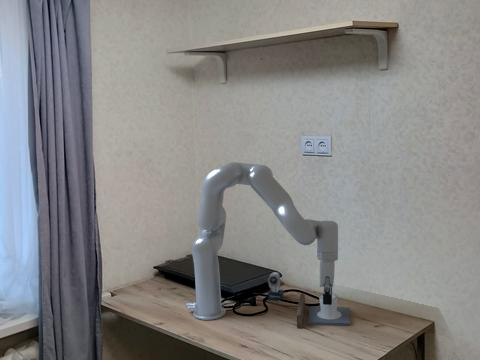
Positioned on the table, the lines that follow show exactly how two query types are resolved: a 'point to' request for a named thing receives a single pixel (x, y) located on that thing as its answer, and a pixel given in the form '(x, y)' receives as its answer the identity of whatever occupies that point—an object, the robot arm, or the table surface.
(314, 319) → the mat
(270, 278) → the watch
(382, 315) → the table surface
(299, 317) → the divider wall
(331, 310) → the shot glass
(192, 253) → the robot arm
